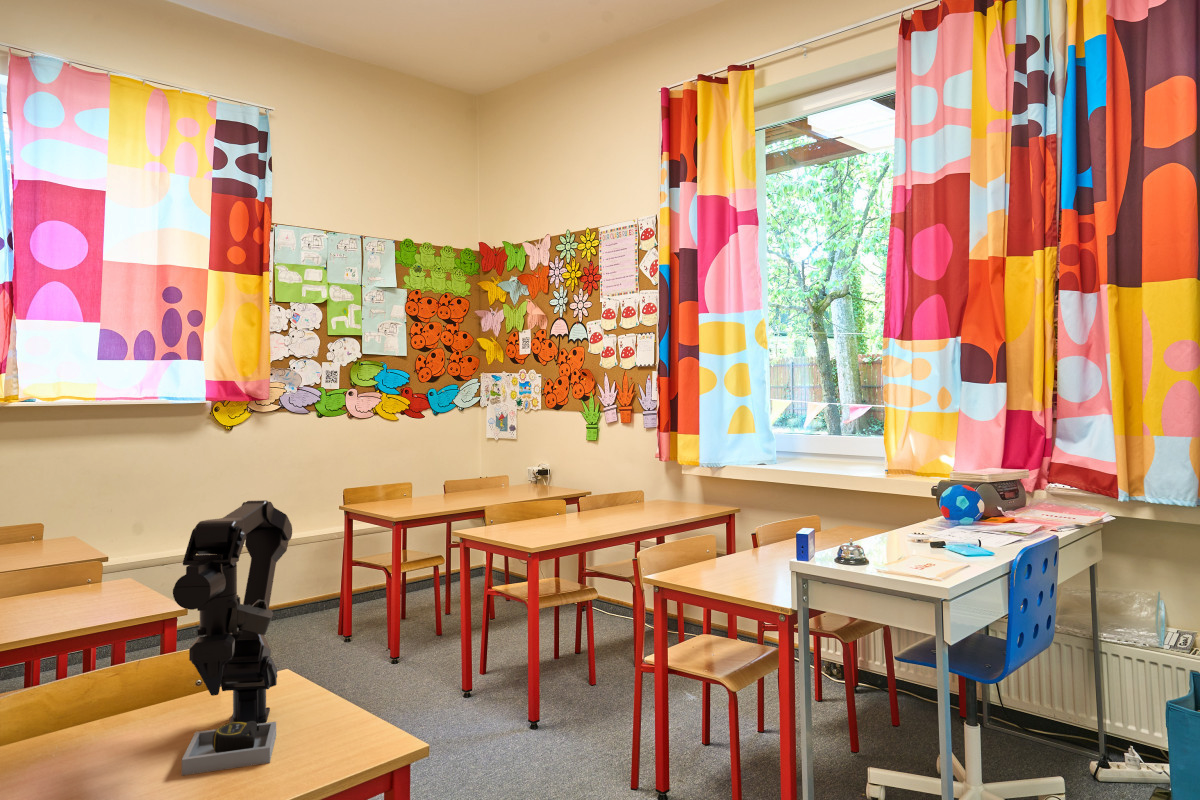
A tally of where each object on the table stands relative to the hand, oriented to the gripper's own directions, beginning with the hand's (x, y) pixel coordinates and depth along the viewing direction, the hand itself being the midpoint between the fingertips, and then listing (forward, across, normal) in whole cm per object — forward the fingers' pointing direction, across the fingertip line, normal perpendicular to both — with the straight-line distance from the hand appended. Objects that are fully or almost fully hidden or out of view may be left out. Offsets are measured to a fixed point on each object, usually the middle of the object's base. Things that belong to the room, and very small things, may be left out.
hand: (218, 685), depth 127 cm
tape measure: (+11, -1, -3) cm, 12 cm away
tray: (+12, -1, -2) cm, 12 cm away
